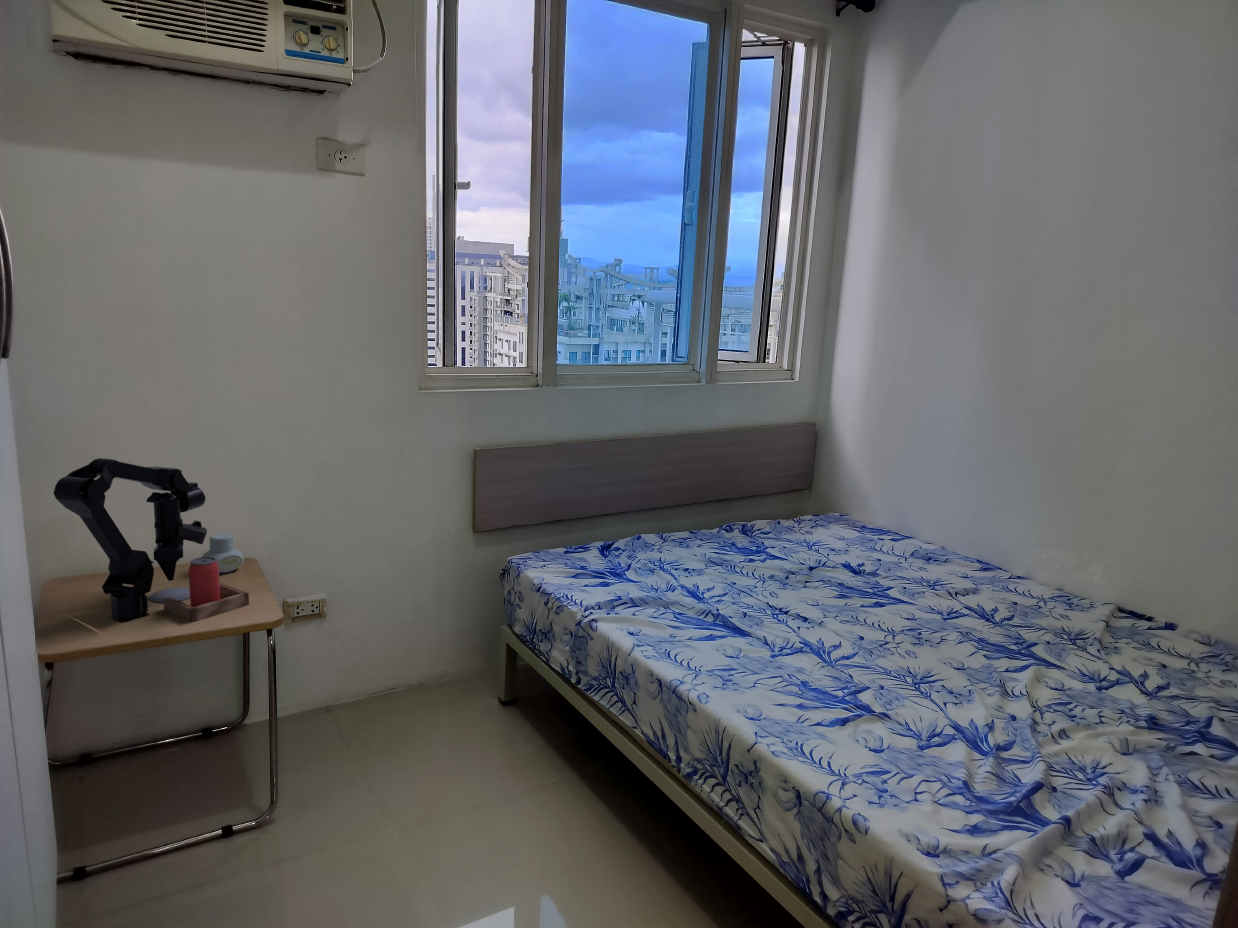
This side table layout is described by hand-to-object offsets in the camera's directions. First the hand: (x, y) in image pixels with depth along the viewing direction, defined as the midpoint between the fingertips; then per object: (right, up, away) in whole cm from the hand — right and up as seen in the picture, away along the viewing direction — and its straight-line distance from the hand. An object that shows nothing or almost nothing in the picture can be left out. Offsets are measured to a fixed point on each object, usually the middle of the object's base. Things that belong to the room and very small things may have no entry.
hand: (171, 576), depth 199 cm
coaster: (0, -5, +1) cm, 5 cm away
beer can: (+11, -7, -5) cm, 14 cm away
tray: (+11, -7, -5) cm, 14 cm away
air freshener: (+2, -2, +22) cm, 22 cm away
